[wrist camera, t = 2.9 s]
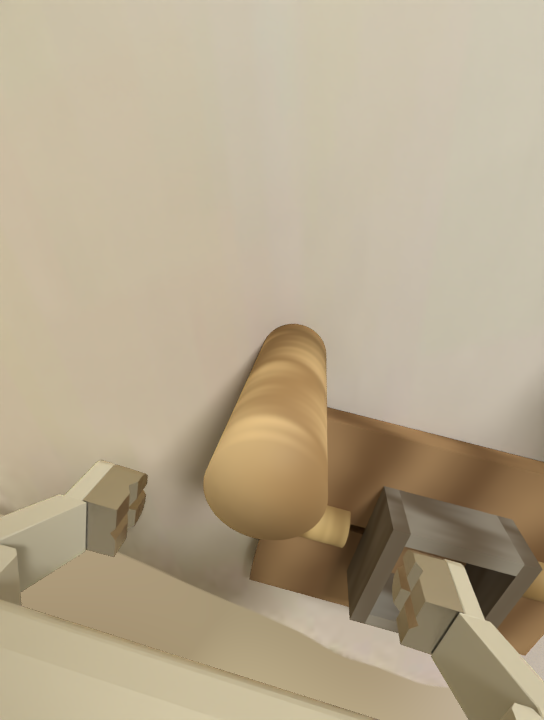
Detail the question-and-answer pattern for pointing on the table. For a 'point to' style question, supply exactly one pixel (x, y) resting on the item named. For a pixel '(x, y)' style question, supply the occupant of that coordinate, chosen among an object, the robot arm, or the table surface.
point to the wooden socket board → (419, 525)
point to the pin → (275, 442)
